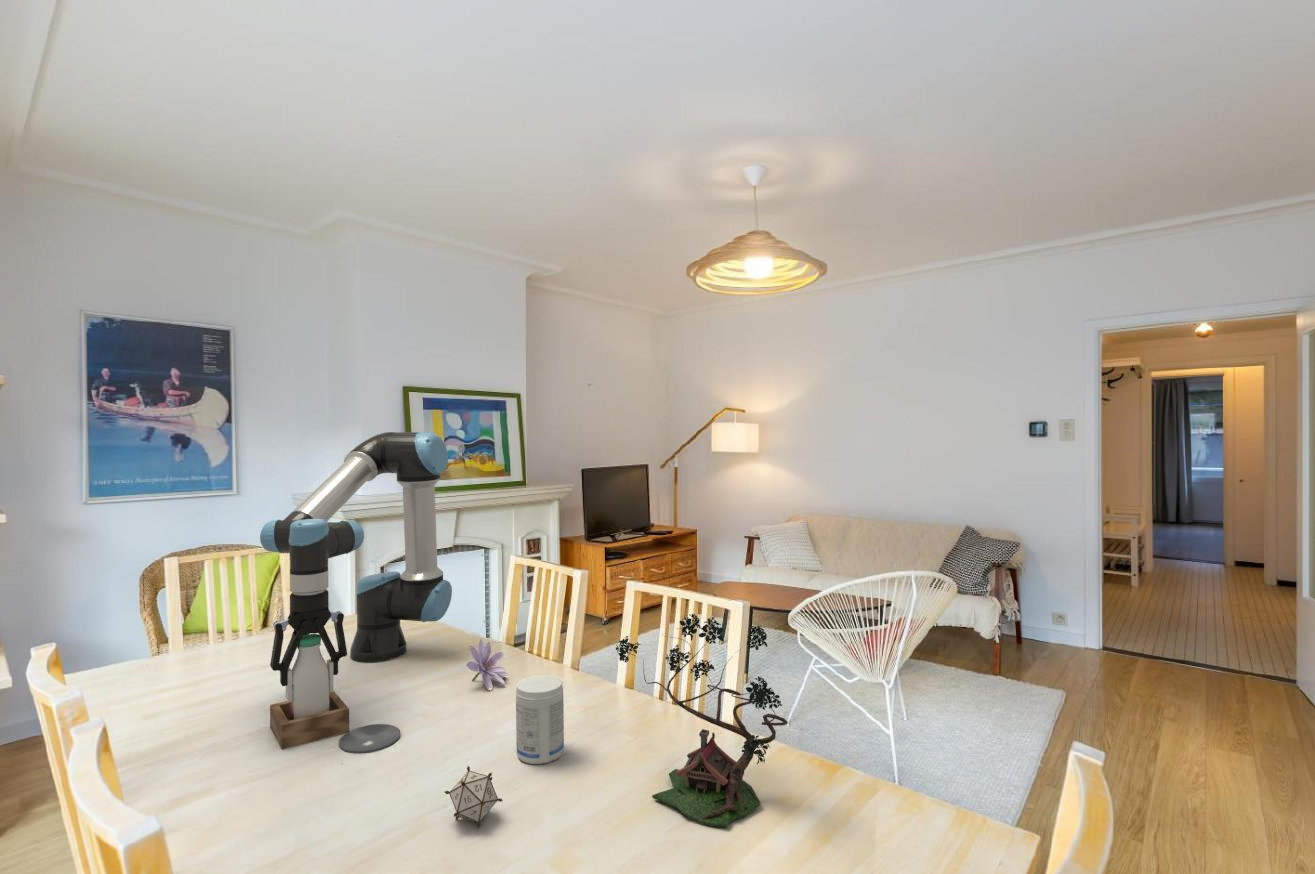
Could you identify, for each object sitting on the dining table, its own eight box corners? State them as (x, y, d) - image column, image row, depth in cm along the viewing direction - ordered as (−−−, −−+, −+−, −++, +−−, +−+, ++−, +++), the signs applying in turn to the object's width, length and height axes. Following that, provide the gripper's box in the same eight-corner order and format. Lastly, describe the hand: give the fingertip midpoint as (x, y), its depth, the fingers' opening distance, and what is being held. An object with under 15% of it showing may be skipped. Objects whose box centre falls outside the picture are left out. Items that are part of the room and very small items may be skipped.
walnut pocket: (333, 711, 157) (333, 690, 157) (349, 731, 147) (349, 708, 147) (270, 727, 148) (270, 704, 148) (281, 749, 138) (281, 725, 138)
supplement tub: (555, 739, 144) (556, 671, 143) (570, 759, 135) (570, 686, 135) (510, 748, 139) (510, 678, 139) (522, 770, 131) (522, 695, 131)
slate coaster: (390, 721, 152) (390, 719, 152) (408, 741, 142) (408, 738, 142) (332, 737, 144) (332, 734, 144) (347, 758, 135) (347, 755, 135)
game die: (465, 837, 116) (453, 775, 121) (512, 817, 116) (499, 757, 121) (445, 839, 108) (433, 773, 113) (495, 818, 108) (482, 754, 113)
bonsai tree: (797, 769, 132) (799, 608, 131) (777, 841, 109) (779, 646, 108) (631, 740, 144) (632, 592, 143) (581, 800, 121) (582, 624, 120)
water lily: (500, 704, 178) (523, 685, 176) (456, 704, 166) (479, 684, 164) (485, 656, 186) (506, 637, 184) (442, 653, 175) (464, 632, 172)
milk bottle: (336, 719, 151) (335, 631, 151) (315, 735, 144) (315, 642, 143) (304, 718, 152) (303, 630, 151) (281, 734, 144) (280, 641, 144)
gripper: (353, 580, 156) (354, 678, 157) (252, 594, 144) (253, 701, 144) (363, 587, 151) (363, 688, 151) (258, 602, 138) (259, 712, 138)
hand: (309, 694), depth 148 cm, fingers closed on milk bottle, 7 cm apart
